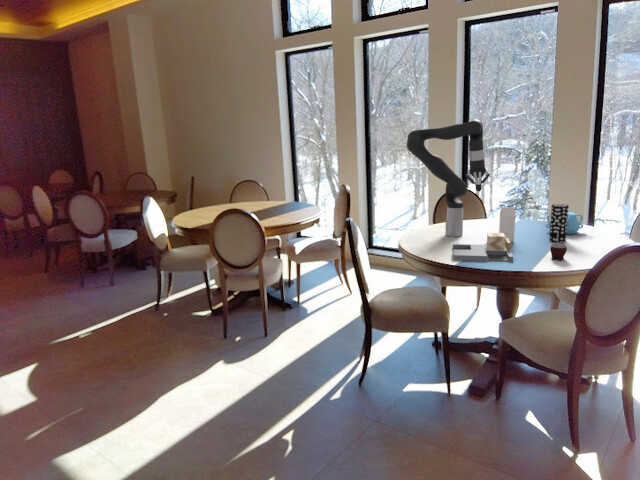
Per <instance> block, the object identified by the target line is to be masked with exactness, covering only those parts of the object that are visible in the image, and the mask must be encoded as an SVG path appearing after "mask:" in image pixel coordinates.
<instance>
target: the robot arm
mask: <svg viewBox="0 0 640 480" xmlns="http://www.w3.org/2000/svg"><path fill="white" fill-rule="evenodd" d="M408 133H409V134H408V135H407V138H406V139H407V140H406V141H407V142H406V147H407V150H408V151H409V152H410V153H411V154H412V155H413V156H414V157H416V158H417V159H418V160H420V162H421V163H422V164H423V165H425V167H426V168H427V169H428V170H429V172H430V173H431V174H432V175H434V176H435V177H436V178H438V179H439V180H441V181H442V182H445V183H446V184H445V203H446V209H447V210H446V219H445V233H444V234H445V236H448V237H453V238H458V237H459V238H460V237H463V229H464V224H463V223H464V202H463V201H462V200H461V199H460V198H459V197H463V196H465V195H466V194H467V192H468V186H467V183H466V182H465V181H464V180H463V179H462V178H461V177H459V176H458V175H457V174H456V173H455V172H454V170H452V168H450V166H449V165H448V164H447V163H446V162H445V160H444V159H443V158H441V156H439V155H438V154H433V153H431V152H430V151H429V149H428V148H426V146H425V141H427V140H431V139H438V140H444V141H449V140H454V139H459V138H462V137H469V141H468V150H469V153H468V157H469V158H468V159H469V160H468V161H469V172H467V174H466V175H465V177H466V178H467V180H468V181H469V182H470V183H471V184H473V185H475V191H476V192H481V191H482V189H483V187H482V185H483V184H485V183H486V182H487V180H488V179H489V177H490V176H491V172H489V171H487V169H486V161H485V157H486V155H485V151H484V141H483V139H484V138H483V137H484V135H483V134H484V125H483V122H482V120H480V119H475V118H474V119H472V120H471V121H467V122H464V123H456V124H452V125H448V126H443V127H437V128H426V129H425V128H424V129H416V130H412V131H410V132H408ZM484 176H485V177H484ZM483 177H484V178H483ZM473 178H474V179H473Z"/></svg>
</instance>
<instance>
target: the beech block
mask: <svg viewBox="0 0 640 480" xmlns="http://www.w3.org/2000/svg"><path fill="white" fill-rule="evenodd" d="M486 245H487V248H488V250H505V235H504V233H499V232H487V237H486Z"/></svg>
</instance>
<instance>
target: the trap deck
mask: <svg viewBox="0 0 640 480" xmlns="http://www.w3.org/2000/svg"><path fill="white" fill-rule="evenodd" d="M511 244H512V243H511V242H510V241H509V239H508V238H505V250H488V248H487V244H468V243H467V244H464V243H462V244H461V243H453V244H452V258H453V259H452V260H453V261H472V260H473V261H477V262H478V261H482V262H483V261H484V262H513V261H514V256H513V254H512V251H511V246H512V245H511Z"/></svg>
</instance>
